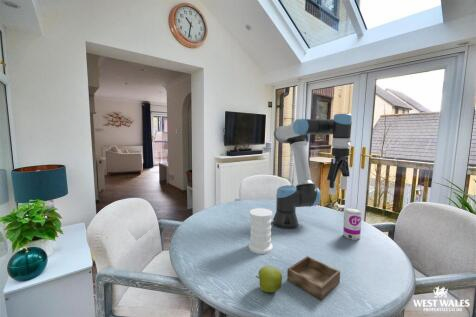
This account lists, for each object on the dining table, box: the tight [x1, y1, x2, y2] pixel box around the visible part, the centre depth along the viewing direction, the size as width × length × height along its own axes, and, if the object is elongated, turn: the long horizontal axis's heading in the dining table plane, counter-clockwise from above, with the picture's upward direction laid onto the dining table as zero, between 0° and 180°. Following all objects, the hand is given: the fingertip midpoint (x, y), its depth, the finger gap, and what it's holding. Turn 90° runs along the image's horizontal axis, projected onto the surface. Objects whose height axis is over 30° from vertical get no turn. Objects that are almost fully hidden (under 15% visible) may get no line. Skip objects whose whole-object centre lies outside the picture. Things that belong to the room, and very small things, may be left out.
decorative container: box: [248, 207, 273, 255], centre depth 105 cm, size 12×12×18 cm
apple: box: [255, 265, 283, 293], centre depth 77 cm, size 8×9×8 cm
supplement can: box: [342, 207, 363, 241], centre depth 117 cm, size 8×8×15 cm
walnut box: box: [286, 255, 341, 301], centre depth 81 cm, size 14×14×4 cm
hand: (337, 191), depth 104 cm, fingers open, 13 cm apart
